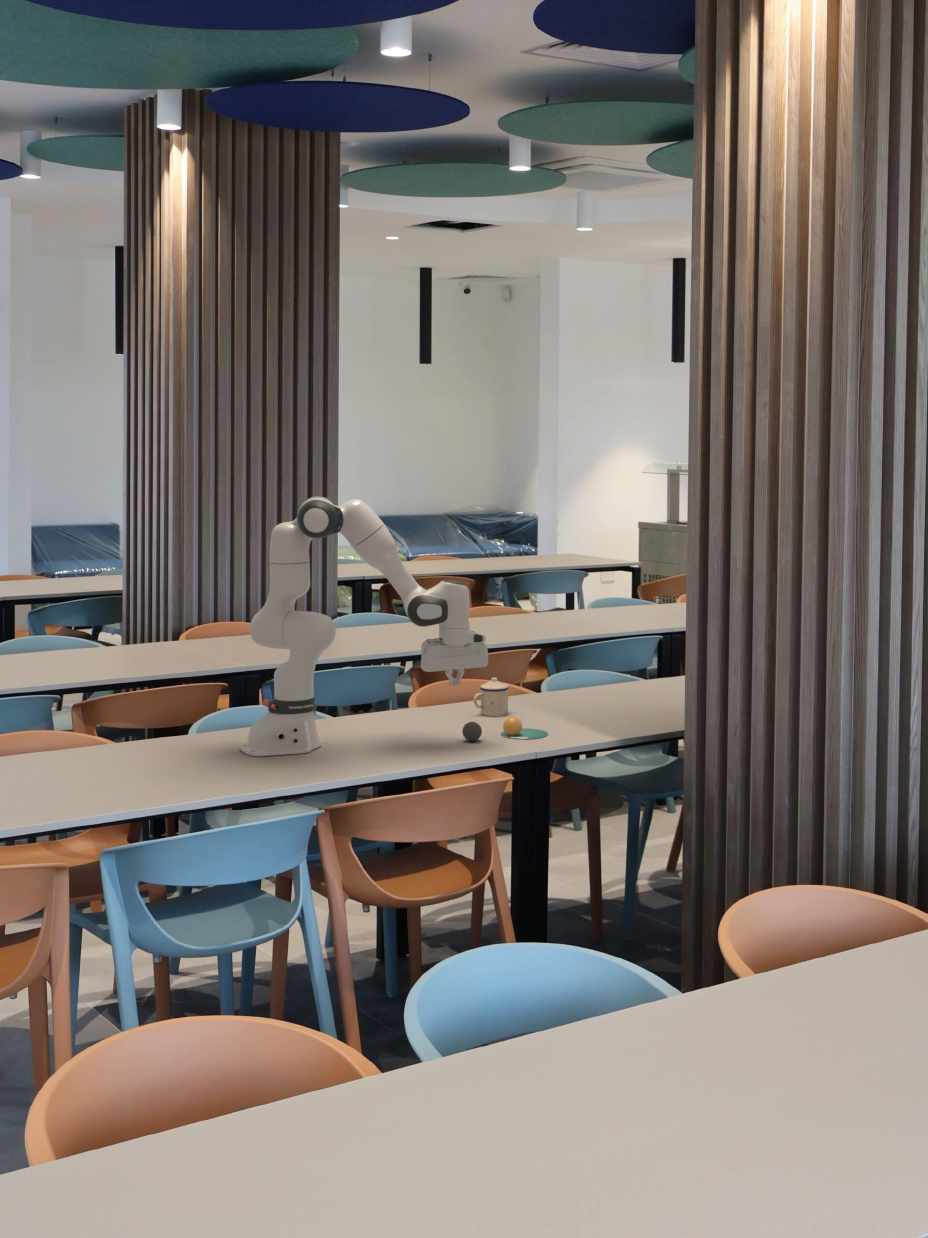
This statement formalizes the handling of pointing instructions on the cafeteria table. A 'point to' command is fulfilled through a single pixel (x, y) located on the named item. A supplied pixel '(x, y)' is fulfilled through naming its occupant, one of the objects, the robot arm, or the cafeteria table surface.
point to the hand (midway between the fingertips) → (454, 684)
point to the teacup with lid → (493, 698)
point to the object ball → (512, 726)
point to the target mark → (528, 733)
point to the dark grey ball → (472, 731)
